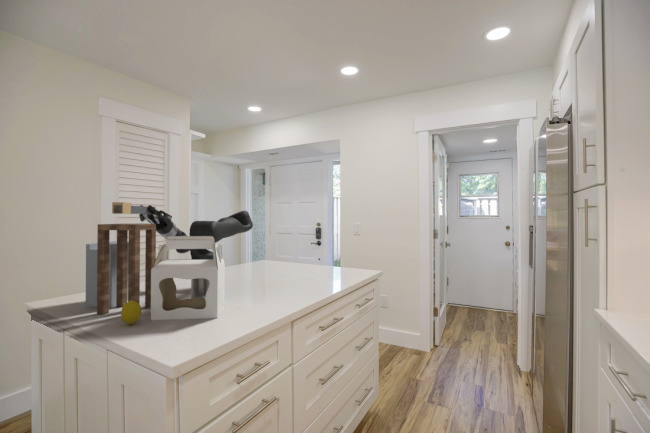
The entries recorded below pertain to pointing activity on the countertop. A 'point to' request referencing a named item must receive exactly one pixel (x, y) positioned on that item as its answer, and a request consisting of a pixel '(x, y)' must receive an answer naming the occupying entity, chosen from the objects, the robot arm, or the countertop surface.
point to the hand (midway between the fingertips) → (144, 207)
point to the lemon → (131, 312)
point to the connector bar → (128, 208)
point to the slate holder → (92, 274)
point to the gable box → (166, 270)
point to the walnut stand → (124, 264)
